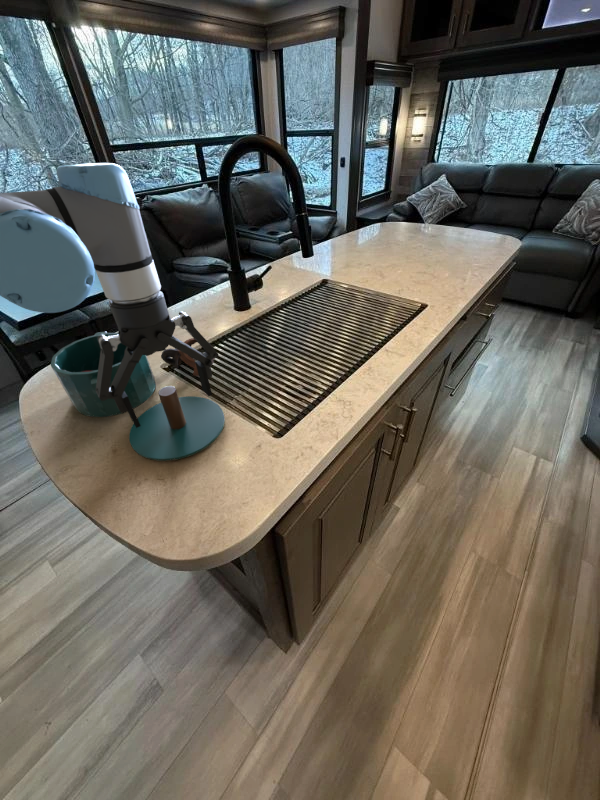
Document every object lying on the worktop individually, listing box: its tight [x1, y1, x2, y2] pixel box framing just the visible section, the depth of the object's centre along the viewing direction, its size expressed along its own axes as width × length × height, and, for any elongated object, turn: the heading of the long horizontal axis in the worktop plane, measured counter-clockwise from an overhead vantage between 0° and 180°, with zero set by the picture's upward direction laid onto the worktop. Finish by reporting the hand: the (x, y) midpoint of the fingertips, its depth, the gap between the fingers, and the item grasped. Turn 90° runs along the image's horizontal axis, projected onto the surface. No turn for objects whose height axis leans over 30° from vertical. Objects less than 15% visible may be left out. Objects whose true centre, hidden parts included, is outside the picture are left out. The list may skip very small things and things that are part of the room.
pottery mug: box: [160, 337, 216, 377], centre depth 79 cm, size 12×10×8 cm
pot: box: [50, 331, 157, 418], centre depth 71 cm, size 17×22×10 cm
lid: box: [128, 385, 226, 462], centre depth 62 cm, size 18×18×9 cm
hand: (173, 407), depth 61 cm, fingers open, 13 cm apart
